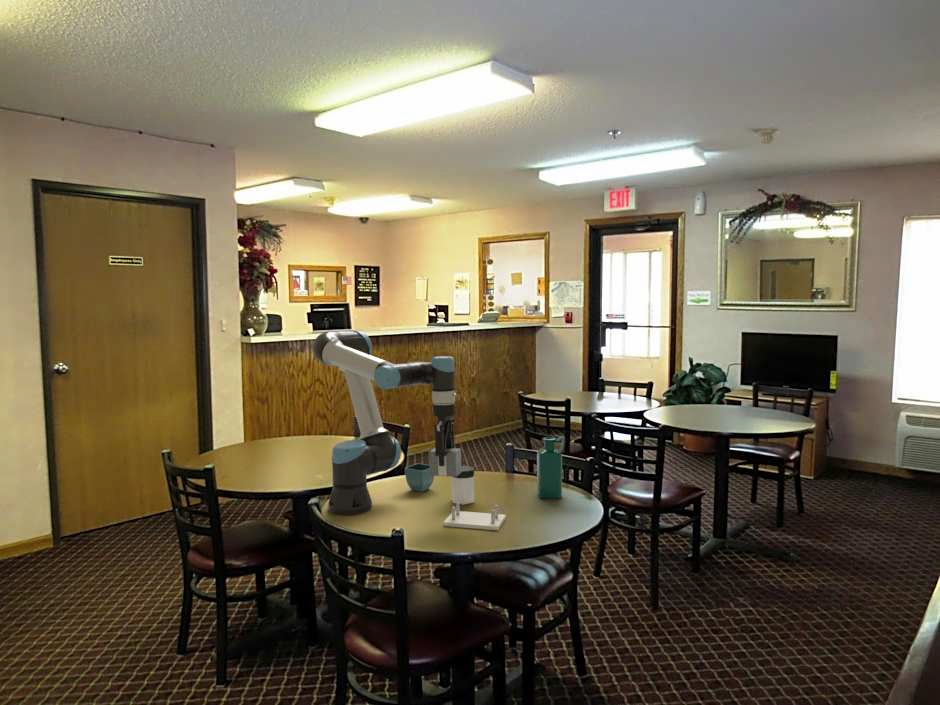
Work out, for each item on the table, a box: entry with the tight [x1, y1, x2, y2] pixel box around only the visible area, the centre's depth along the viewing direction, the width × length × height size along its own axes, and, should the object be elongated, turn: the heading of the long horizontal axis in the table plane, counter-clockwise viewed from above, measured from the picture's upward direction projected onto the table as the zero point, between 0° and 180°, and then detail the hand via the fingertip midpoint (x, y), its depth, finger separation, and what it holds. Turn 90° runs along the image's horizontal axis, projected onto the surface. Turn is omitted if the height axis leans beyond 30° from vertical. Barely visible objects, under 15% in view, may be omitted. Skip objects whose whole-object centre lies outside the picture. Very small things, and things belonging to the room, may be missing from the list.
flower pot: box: [404, 462, 435, 493], centre depth 248 cm, size 9×9×9 cm
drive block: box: [428, 447, 462, 478], centre depth 213 cm, size 9×6×8 cm, turn 74°
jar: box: [451, 465, 475, 506], centre depth 233 cm, size 9×8×12 cm
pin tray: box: [442, 502, 507, 531], centre depth 211 cm, size 18×12×5 cm, turn 75°
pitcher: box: [536, 435, 566, 500], centre depth 239 cm, size 10×8×22 cm
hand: (446, 472), depth 213 cm, fingers closed on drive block, 6 cm apart
